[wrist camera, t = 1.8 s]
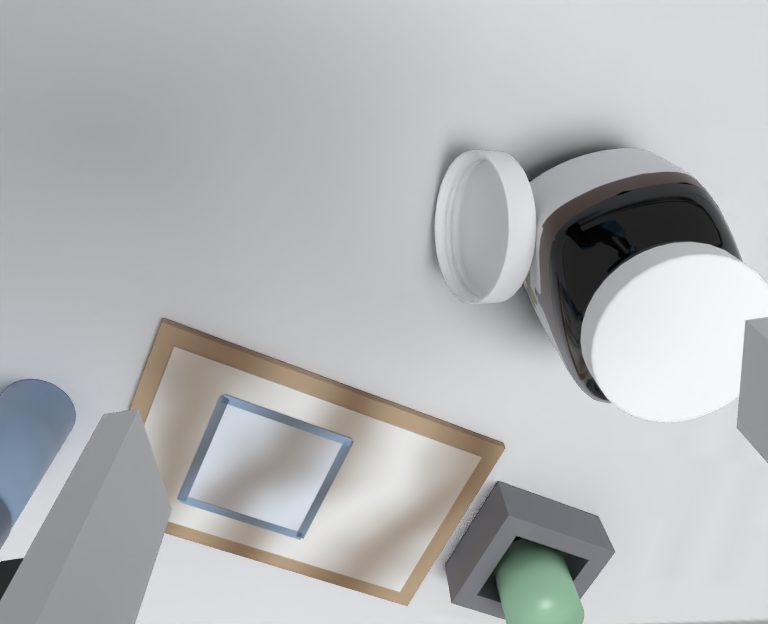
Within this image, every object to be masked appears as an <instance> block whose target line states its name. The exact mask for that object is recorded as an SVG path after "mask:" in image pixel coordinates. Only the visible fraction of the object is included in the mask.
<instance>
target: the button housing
mask: <svg viewBox="0 0 768 624" xmlns="http://www.w3.org/2000/svg"><path fill="white" fill-rule="evenodd" d="M516 536H519V537H522V538H525V539H528V540H531V541H534V542H537V543H540V544H543V545H546V546H549V547H552V548H555V549H558V550H560V551H561V552H562V554H563V557H564V559H565V562H566V565H567V567H568V570H569V573H570V575H571V578H572V580H573V583H574V586H575V588H576V591H577V593H578V596H579V599H581V597H582V596H583V595H584V593H585V592H586V591H587V589H588V588H589V587H590V585H591V584H592V583H593V581H594V580H595V579H596V577H597V576H598V575H599V573H600V572H601V570H602V569H603V568H604V566H605V565H606V564H607V562H608V561H609V560H610V558H611V557H612V556H613V554H614V553H615V550H614V548H613V546H612V544H611V542H610V540H609V538H608V536H607V534H606V531H605V529H604V527H603V525H602V523H601V521H600V519H599V517H598V516H595V515H592V514H590V513H587V512H584V511H581V510H578V509H575V508H573V507H570V506H567V505H564V504H561V503H559V502H556V501H553V500H550V499H547V498H544V497H542V496H539V495H536V494H533V493H530V492H527V491H525V490H522V489H519V488H516V487H513V486H510V485H508V484H505V483H502V482H499V481H498V482H497V484H496V485H495V487H494V488H493V490H492V492H491V493H490V495H489V496H488V498H487V500H486V501H485V503H484V504H483V506H482V508H481V509H480V511H479V512H478V514H477V515H476V517H475V519H474V520H473V522H472V523H471V525H470V527H469V528H468V530H467V531H466V533H465V535H464V536H463V538H462V539H461V541H460V543H459V544H458V546H457V547H456V549H455V550H454V552H453V554H452V555H451V557H450V558H449V560H448V562H447V563H446V565H445V568H446V574H447V580H448V585H449V591H450V597H451V603H453V604H456V605H459V606H463V607H466V608H469V609H473V610H476V611H479V612H482V613H486V614H489V615H492V616H495V617H499V618H502V619H505V615H504V611H503V607H502V604H501V600H500V596H499V592H498V588H497V584H496V580H495V576H494V572H493V570H494V569H495V567H496V566H497V564H498V563H499V561H500V560H501V558H502V557H503V555H504V554H505V552H506V551H507V549H508V548H509V546H510V545H511V543H512V542H513V540H514V539H515V537H516ZM505 620H506V619H505Z"/></svg>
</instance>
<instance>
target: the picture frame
mask: <svg viewBox="0 0 768 624" xmlns="http://www.w3.org/2000/svg"><path fill="white" fill-rule="evenodd" d="M136 409H139V412H140V415H141V418H142V421H143V424H144V427H145V430H146V433H147V436H148V439H149V442H150V445H151V448H152V451H153V454H154V457H155V460H156V463H157V466H158V469H159V472H160V475H161V478H162V481H163V484H164V487H165V490H166V493H167V496H168V499H169V502H170V505H171V508H172V511H171V514H170V517H169V520H168V523H167V526H166V529H165V533H167V534H170V535H173V536H177V537H180V538H183V539H186V540H190V541H193V542H196V543H200V544H203V545H206V546H210V547H213V548H216V549H220V550H223V551H226V552H230V553H233V554H236V555H240V556H243V557H246V558H249V559H253V560H256V561H259V562H263V563H266V564H269V565H273V566H276V567H279V568H283V569H286V570H289V571H293V572H296V573H299V574H303V575H306V576H309V577H312V578H316V579H319V580H322V581H326V582H329V583H332V584H336V585H339V586H342V587H346V588H349V589H352V590H356V591H359V592H362V593H366V594H369V595H372V596H375V597H379V598H382V599H385V600H389V601H392V602H395V603H399V604H402V605H405V606H408V604H409V602H410V601H411V599H412V598H413V596H414V594H415V593H416V591H417V590H418V588H419V586H420V585H421V583H422V581H423V580H424V578H425V577H426V575H427V573H428V572H429V570H430V569H431V567H432V565H433V564H434V562H435V561H436V559H437V557H438V556H439V554H440V552H441V551H442V549H443V548H444V546H445V544H446V543H447V541H448V540H449V538H450V536H451V535H452V533H453V532H454V530H455V528H456V527H457V525H458V523H459V522H460V520H461V519H462V517H463V515H464V514H465V512H466V511H467V509H468V507H469V506H470V504H471V503H472V501H473V499H474V498H475V496H476V494H477V493H478V491H479V490H480V488H481V486H482V485H483V483H484V482H485V480H486V478H487V477H488V475H489V474H490V472H491V470H492V469H493V467H494V465H495V464H496V462H497V461H498V459H499V457H500V456H501V454H502V453H503V451H504V449H505V446H504V443H502V442H499V441H497V440H494V439H491V438H489V437H486V436H483V435H480V434H478V433H475V432H472V431H469V430H467V429H464V428H461V427H459V426H456V425H453V424H450V423H448V422H445V421H442V420H440V419H437V418H434V417H431V416H429V415H426V414H423V413H420V412H418V411H415V410H412V409H410V408H407V407H404V406H401V405H399V404H396V403H393V402H391V401H388V400H385V399H382V398H380V397H377V396H374V395H371V394H369V393H366V392H363V391H361V390H358V389H355V388H352V387H350V386H347V385H344V384H342V383H339V382H336V381H333V380H331V379H328V378H325V377H322V376H320V375H317V374H314V373H312V372H309V371H306V370H303V369H301V368H298V367H295V366H293V365H290V364H287V363H284V362H282V361H279V360H276V359H273V358H271V357H268V356H265V355H263V354H260V353H257V352H254V351H252V350H249V349H246V348H244V347H241V346H238V345H235V344H233V343H230V342H227V341H224V340H222V339H219V338H216V337H214V336H211V335H208V334H205V333H203V332H200V331H197V330H195V329H192V328H189V327H186V326H184V325H181V324H178V323H175V322H173V321H170V320H167V319H165V318H164V319H163V321H162V323H161V326H160V328H159V331H158V334H157V336H156V339H155V342H154V345H153V347H152V350H151V353H150V355H149V358H148V361H147V364H146V366H145V369H144V372H143V375H142V377H141V380H140V383H139V385H138V388H137V391H136V394H135V396H134V399H133V402H132V404H131V407H130V410H136Z"/></svg>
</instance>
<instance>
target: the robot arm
mask: <svg viewBox="0 0 768 624" xmlns="http://www.w3.org/2000/svg"><path fill="white" fill-rule="evenodd" d="M737 429H738V430H739V431H740V432H741V433H742V434H743V435H744V437H745V438H746V439H747V440H748V441H749V442H750V443H751V444H752V446H753V447H754V448H755V449H756V450H757V451H758V452H759V454H760V455H761V456H762V457H763V458H764V459H765V460H766V461H767V463H768V317H764V318H757V319H750V320H745V331H744V343H743V356H742V368H741V380H740V393H739V405H738V418H737ZM171 511H172V508H171V505H170V502H169V499H168V496H167V493H166V490H165V487H164V484H163V481H162V478H161V475H160V472H159V469H158V466H157V463H156V460H155V457H154V454H153V451H152V448H151V445H150V442H149V439H148V436H147V433H146V430H145V427H144V424H143V421H142V418H141V415H140V412H139V409H136V410H129V411H122V412H116V413H109V414H103V416H102V418H101V420H100V422H99V424H98V425H97V427H96V429H95V431H94V433H93V434H92V436H91V438H90V440H89V442H88V443H87V445H86V447H85V449H84V451H83V452H82V454H81V456H80V458H79V460H78V461H77V463H76V465H75V467H74V469H73V470H72V472H71V474H70V476H69V478H68V479H67V481H66V483H65V485H64V487H63V488H62V490H61V492H60V494H59V496H58V497H57V499H56V501H55V503H54V505H53V506H52V508H51V510H50V512H49V514H48V516H47V517H46V519H45V521H44V523H43V525H42V526H41V528H40V530H39V532H38V534H37V535H36V537H35V539H34V541H33V543H32V544H31V546H30V548H29V550H28V552H27V553H26V555H25V557H24V558H21V559H14V560H7V561H1V562H0V624H135V622H136V619H137V616H138V613H139V609H140V606H141V603H142V600H143V597H144V594H145V591H146V588H147V585H148V582H149V579H150V576H151V573H152V569H153V566H154V563H155V560H156V557H157V554H158V551H159V548H160V545H161V542H162V539H163V536H164V533H165V529H166V526H167V523H168V520H169V517H170V514H171Z"/></svg>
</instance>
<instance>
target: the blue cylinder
mask: <svg viewBox="0 0 768 624" xmlns="http://www.w3.org/2000/svg"><path fill="white" fill-rule="evenodd" d="M75 419H76V413H75V408H74V405H73V403H72V401H71V400H70V398H69V397H68V396H67V395H66V394H65V392H63V391H62V390H61V389H60V388H58V387H57V386H55V385H53V384H51V383H48V382H45V381H42V380H34V379H28V380H21V381H18V382H15V383H13V384H11V385H10V386H8V387H7V388H6V389H5V390H4V391H3V393H2V394H1V395H0V549H1V547H2V546H3V544H4V542H5V541H6V539H7V537H8V536H9V533H10V531H11V529H12V527H13V525H14V524H15V522H16V520H17V519H18V517H19V515H20V514H21V512H22V510H23V509H24V507H25V505H26V504H27V502H28V501H29V499H30V497H31V496H32V494H33V492H34V491H35V489H36V487H37V486H38V484H39V482H40V481H41V479H42V477H43V476H44V474H45V473H46V471H47V469H48V468H49V466H50V464H51V463H52V461H53V459H54V458H55V456H56V454H57V453H58V451H59V449H60V448H61V446H62V444H63V443H64V441H65V440H66V438H67V436H68V435H69V433H70V431H71V430H72V428H73V426H74V424H75Z"/></svg>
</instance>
